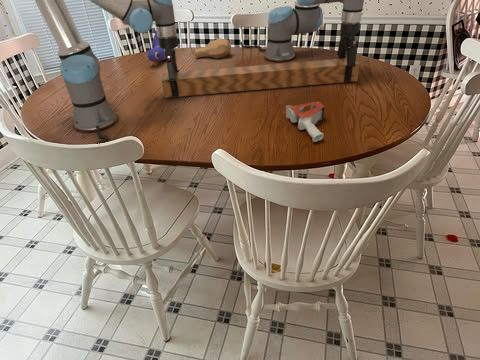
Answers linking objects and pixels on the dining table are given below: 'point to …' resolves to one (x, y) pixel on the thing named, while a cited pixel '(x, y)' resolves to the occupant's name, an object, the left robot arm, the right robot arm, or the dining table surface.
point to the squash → (215, 49)
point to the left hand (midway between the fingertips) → (176, 91)
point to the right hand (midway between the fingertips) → (343, 77)
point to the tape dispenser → (307, 118)
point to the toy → (156, 51)
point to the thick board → (259, 77)
